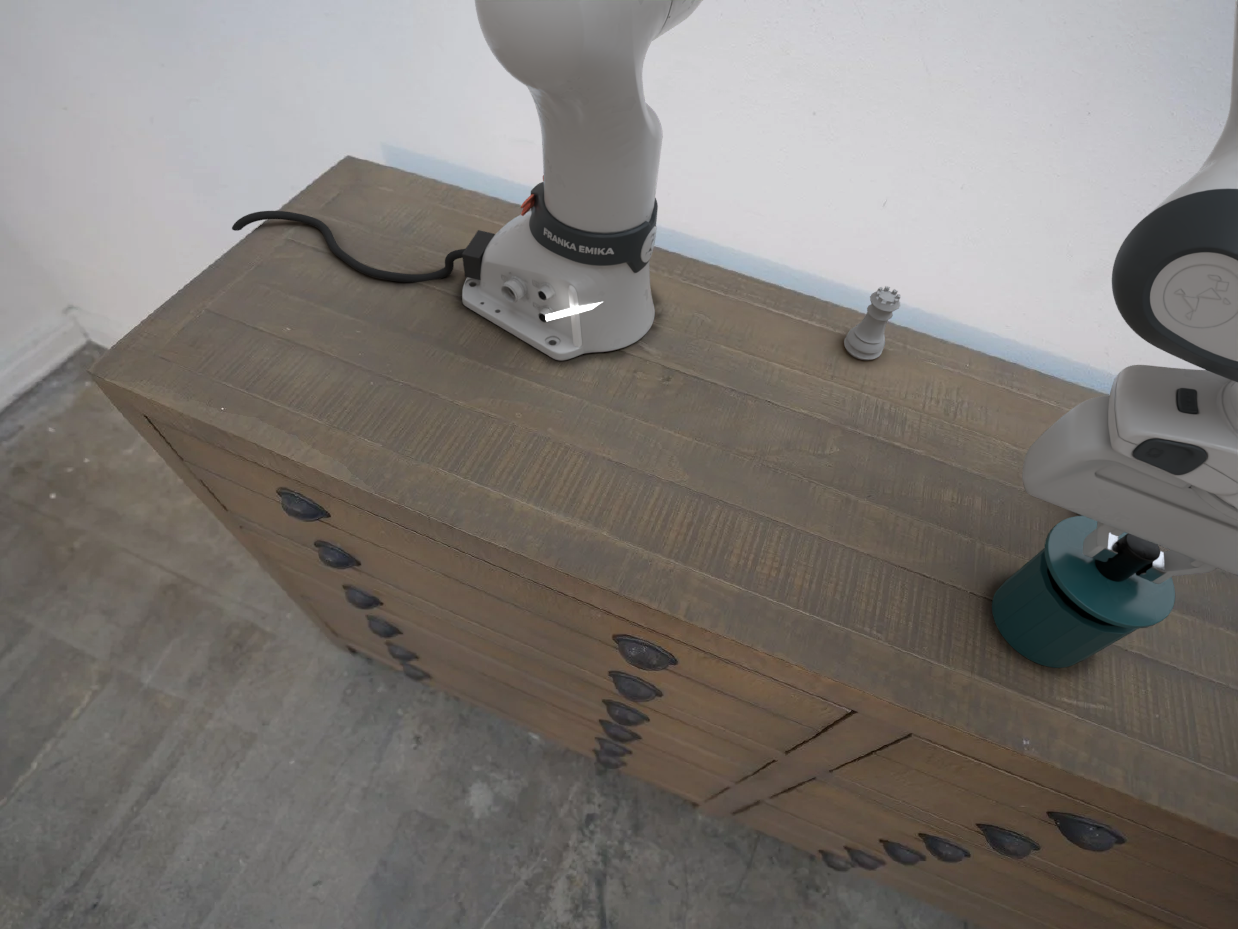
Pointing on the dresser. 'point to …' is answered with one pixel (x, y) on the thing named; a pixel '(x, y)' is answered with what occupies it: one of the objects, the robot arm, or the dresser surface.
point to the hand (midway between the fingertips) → (1118, 562)
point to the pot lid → (1108, 576)
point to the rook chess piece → (872, 326)
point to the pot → (1048, 619)
